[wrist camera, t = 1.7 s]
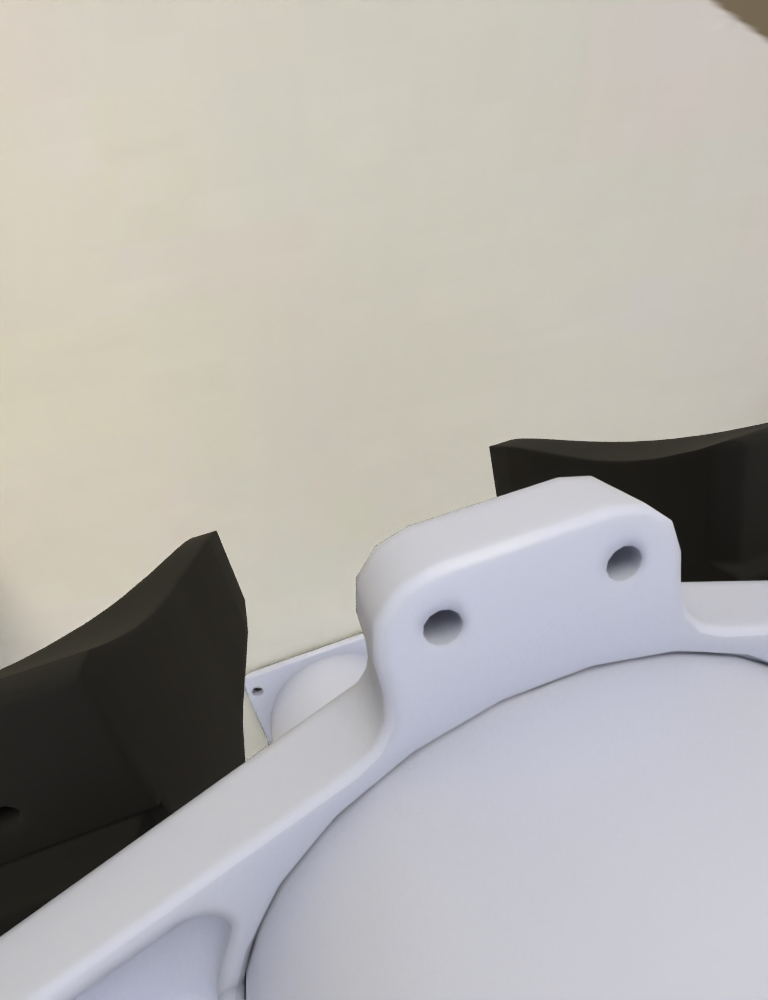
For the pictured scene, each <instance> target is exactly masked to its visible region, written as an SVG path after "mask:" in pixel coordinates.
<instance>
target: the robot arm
mask: <svg viewBox="0 0 768 1000" xmlns="http://www.w3.org/2000/svg"><path fill="white" fill-rule="evenodd" d="M489 448H490V455H491V461H492V468H493V475H494V481H495V488H496V494H497V497H496V498H492V499H489V500H486V501H483V502H480V503H477V504H474V505H471V506H468V507H465V508H461V509H458V510H455V511H452V512H449V513H446V514H443V515H440V516H437V517H434V518H430V519H427V520H424V521H421V522H418V523H415V524H412V525H409V526H407V527H406V528H404V529H402V530H401V531H399V532H397V533H396V534H394V535H392V536H391V537H389V538H387V539H386V540H384V541H383V542H381V543H379V544H378V545H376V546H375V548H374V549H373V551H372V553H371V554H370V556H369V557H368V559H367V561H366V562H365V564H364V566H363V567H362V569H361V570H360V572H359V574H358V575H357V577H356V612H357V615H358V619H359V622H360V625H361V628H362V632H363V633H361V634H358V635H356V636H353V637H350V638H347V639H344V640H341V641H338V642H336V643H333V644H330V645H327V646H324V647H321V648H318V649H316V650H313V651H310V652H307V653H304V654H301V655H298V656H296V657H293V658H290V659H287V660H284V661H281V662H278V663H276V664H273V665H270V666H267V667H264V668H261V669H258V670H256V671H253V672H250V673H248V674H247V675H246V676H245V670H246V655H247V638H248V627H247V616H246V607H245V599H244V597H243V594H242V592H241V589H240V587H239V584H238V582H237V580H236V577H235V575H234V572H233V570H232V567H231V565H230V563H229V560H228V558H227V555H226V553H225V550H224V548H223V546H222V543H221V541H220V538H219V536H218V533H217V531H214V532H210V533H207V534H204V535H201V536H197V537H194V538H191V539H189V540H188V541H186V542H185V543H183V544H182V545H181V546H180V547H179V548H177V549H176V550H175V551H174V552H173V553H172V554H171V555H170V556H169V557H168V558H167V559H165V560H164V561H163V562H162V563H161V564H160V565H159V566H158V567H157V568H156V569H155V570H154V571H152V572H151V573H150V574H149V575H148V576H147V577H146V578H144V579H143V580H142V581H141V582H140V583H139V584H137V585H136V586H135V587H134V588H133V589H132V590H130V591H129V592H128V593H127V594H126V595H124V596H123V597H122V598H121V599H119V600H118V601H117V602H115V603H114V604H113V605H111V606H110V607H109V608H107V609H106V610H105V611H103V612H102V613H100V614H99V615H97V616H96V617H94V618H93V619H92V620H90V621H89V622H87V623H85V624H84V625H82V626H81V627H79V628H77V629H76V630H74V631H72V632H71V633H69V634H67V635H65V636H64V637H62V638H60V639H59V640H57V641H55V642H54V643H52V644H50V645H48V646H47V647H45V648H43V649H41V650H39V651H37V652H36V653H34V654H32V655H30V656H28V657H26V658H24V659H22V660H20V661H18V662H16V663H14V664H12V665H10V666H7V667H5V668H3V669H1V670H0V1000H768V423H764V424H760V425H755V426H750V427H745V428H740V429H735V430H730V431H725V432H719V433H713V434H707V435H700V436H692V437H684V438H676V439H666V440H655V441H636V442H588V441H568V440H551V439H514V440H509V441H506V442H503V443H499V444H496V445H493V446H490V447H489ZM244 687H245V690H246V692H247V694H248V696H249V699H250V701H251V703H252V705H253V708H254V710H255V712H256V715H257V717H258V719H259V721H260V724H261V726H262V728H263V730H264V733H265V735H266V737H267V739H268V742H269V744H270V745H268V746H267V747H265V748H264V749H263V750H261V751H260V752H258V753H257V754H256V755H254V756H253V757H251V758H250V759H249V760H247V761H246V762H245V751H244V734H243V699H244ZM255 688H262V689H261V690H260V691H255V690H253V689H255Z"/></svg>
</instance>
